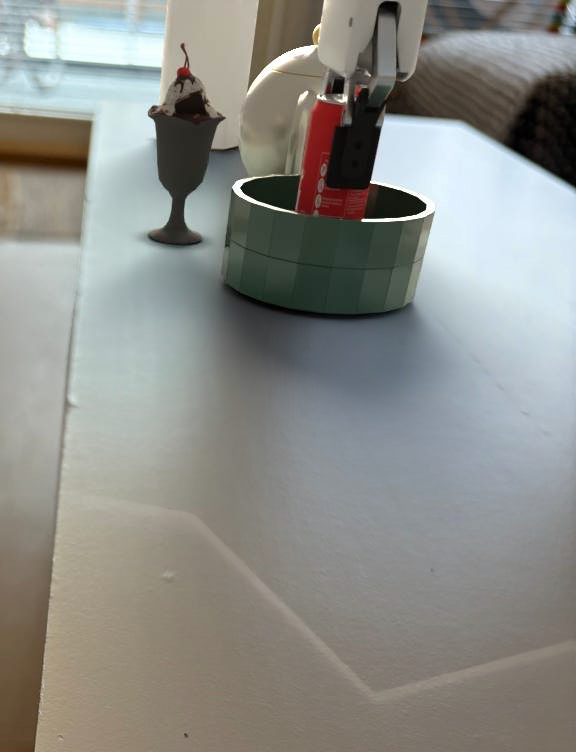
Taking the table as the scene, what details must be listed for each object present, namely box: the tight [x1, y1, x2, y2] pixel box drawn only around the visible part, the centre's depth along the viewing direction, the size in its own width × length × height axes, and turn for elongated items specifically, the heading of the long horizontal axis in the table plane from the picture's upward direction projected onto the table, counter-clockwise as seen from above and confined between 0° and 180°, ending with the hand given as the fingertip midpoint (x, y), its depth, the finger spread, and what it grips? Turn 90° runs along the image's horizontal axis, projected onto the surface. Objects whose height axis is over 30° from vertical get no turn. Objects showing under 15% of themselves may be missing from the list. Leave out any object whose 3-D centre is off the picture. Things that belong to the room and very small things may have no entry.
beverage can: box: [295, 94, 383, 219], centre depth 74 cm, size 5×5×12 cm
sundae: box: [147, 43, 226, 245], centre depth 84 cm, size 7×7×15 cm
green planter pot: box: [220, 174, 436, 315], centre depth 76 cm, size 15×15×7 cm
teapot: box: [238, 24, 370, 177], centre depth 93 cm, size 18×14×16 cm
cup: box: [158, 0, 260, 151], centre depth 122 cm, size 11×11×18 cm
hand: (337, 176), depth 73 cm, fingers closed on beverage can, 5 cm apart
